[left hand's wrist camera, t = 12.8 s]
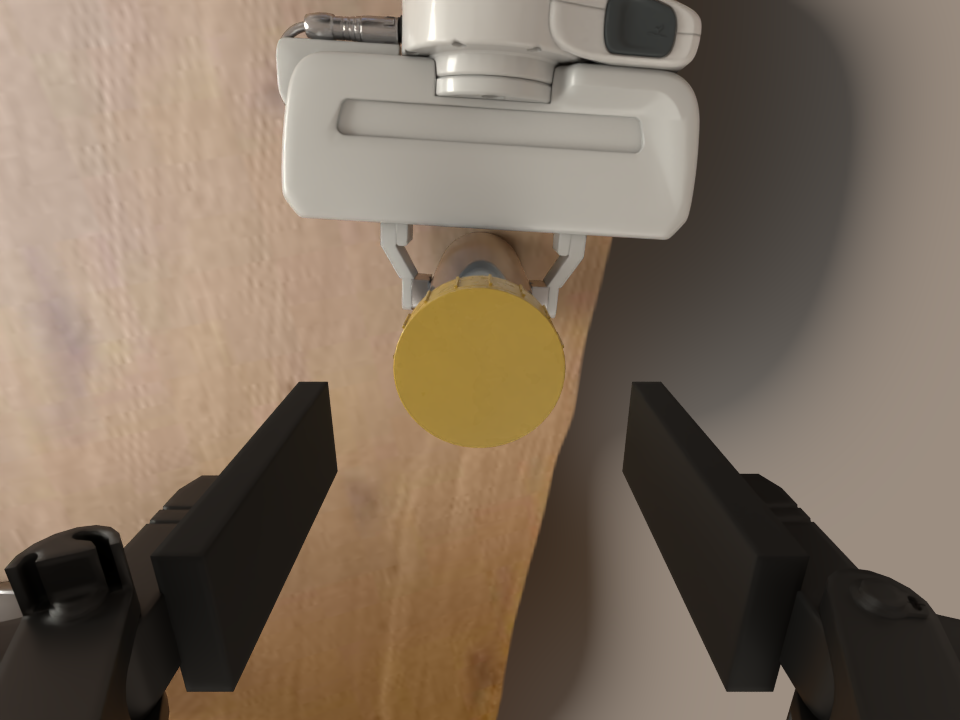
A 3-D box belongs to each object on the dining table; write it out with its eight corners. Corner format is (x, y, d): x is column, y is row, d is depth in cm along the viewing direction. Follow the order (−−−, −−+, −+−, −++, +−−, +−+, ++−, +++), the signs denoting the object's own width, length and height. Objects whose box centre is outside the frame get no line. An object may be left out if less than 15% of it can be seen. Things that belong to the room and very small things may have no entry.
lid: (426, 252, 19) (420, 262, 16) (581, 304, 19) (593, 320, 17) (383, 396, 20) (373, 421, 18) (525, 439, 21) (530, 468, 19)
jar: (453, 220, 33) (426, 268, 17) (533, 247, 34) (582, 320, 18) (428, 299, 35) (382, 412, 19) (504, 324, 36) (525, 455, 19)
